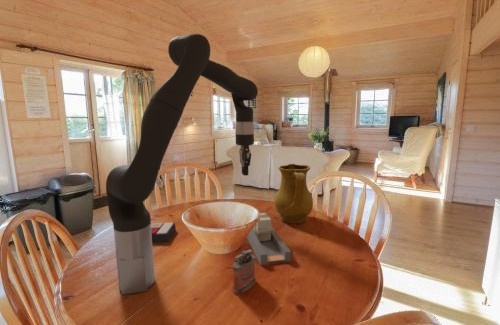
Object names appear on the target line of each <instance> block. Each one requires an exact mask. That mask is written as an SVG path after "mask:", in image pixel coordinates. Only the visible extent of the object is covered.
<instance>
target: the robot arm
mask: <svg viewBox="0 0 500 325" xmlns="http://www.w3.org/2000/svg"><path fill="white" fill-rule="evenodd" d="M167 51H168V55H169V58H170V60H171V61H172V62H173V64H174V65H176V66H177V68H176V70H175V71H174V72H173V73H172V75H170V77H169V78H168V79H166V81H165V82H164V83H163V84H161V86H159V88H158V89H156V90H155V92H154V93H153V95H152V96H150V99H149V102H148V104H147V105H146V108H145V110H144V112H143V115H142V118H141V125H140V141H139V144H138V148H137V151H136V153H135V155H134V157H133V159H132V160H131V162H130V164H129V165H127V164H124V165H123V164H122V165H118V166H116V167H114V168H112V170H110V171H109V173H108V175H107V177H106V182H105V193H106V200H107V207H108V213H109V218H110V219H111V221H112V226H113V235H114V246H115V256H116V267H117V278H118V288H119V291H120V292H121V295H129V294H136V293H145V292H147V291H148V289H149V288H150V287H151V286H153V284H154V283H155V278H156V277H155V266H154V264H155V263H154V252H153V250H154V248H153V242H152V233H151V224H152V220H151V214H150V212H149V210H148V209H147V208H146V206H145V204H144V202H145V201H146V200H147V199H148V198H149V197H150V196H151V194H152V192H153V190H154V188H155V185H156V181H157V178H158V175H159V172H160V168H161V166H162V162H163V160H164V156H165V154H166V152H167V151H168V150H167V149H168V147H169V145H170V143H171V140H172V138H173V135H174V132H175V131H176V129H177V127H178V124H179V123H180V120H181V118H182V116H183V113H184V110H185V107H186V105H187V103H188V101H189V99H190V97H191V96H192V92H193V90H194V88H195V86H196V85H197V82H198V81H199V79H200V77H203V78H205V79H206V80H209V81H210V82H212V83H214V84H216V85H217V86H219V87H220V88H221V89H223V90H225V91H227V92H228V93H230V94H231V98H232V99H231V100H232V101H233V102H232V103H233V106H234V110H235V131H234V132H235V145H236V146H240V148H239V151H238V153H239V163H240V165H241V174H242V175H243V176H249V167H250V165H251V159H252V153H251V149H250V146H253V145H254V144H255V127H254V126H255V125H254V109H253V107H251V106H247V105H246V104H245V101H246V102H247V101H254V100H255V99H256V98H257V97H258V94H259V90H258V87H257V84H256V83H255V82H253V81H252V80H250V79H249V78H246V77H243V76H240V75H239V74H237V73H236V72H235V71H234V70H232V69H230V68H229V67H227V66H226V65H224V64H221V63H220V62H219V63H218V62H216V61H213V60H211V59H210V56H211V45H210V43H209V40H208V38H207V37H206V36H205V35H203V34H200V33H190V34H183V35H178V36H175V37H174V38H172V39H171V40H170V42H169V43H168V50H167Z"/></svg>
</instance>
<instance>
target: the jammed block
mask: <svg viewBox="0 0 500 325" xmlns="http://www.w3.org/2000/svg"><path fill="white" fill-rule="evenodd" d="M260 215H261V217H260V220H259V221H258V222H257V223H256V225H255V226H254V227H253V231H254V233H255V234H256V236H257V238H258V240H259V241H268V240H271V226H272V218H271V217H270V216H269V215H268V213H267V212H262V213H261V212H260Z"/></svg>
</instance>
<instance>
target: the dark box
mask: <svg viewBox="0 0 500 325" xmlns="http://www.w3.org/2000/svg"><path fill="white" fill-rule="evenodd" d="M176 231H177V228H176V223H175V222H151V233H152V243H156V244H159V243H166V244H167V243H170V241H171V239H172V237H174V235H175V233H176Z"/></svg>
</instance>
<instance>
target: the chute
mask: <svg viewBox="0 0 500 325" xmlns="http://www.w3.org/2000/svg"><path fill="white" fill-rule="evenodd" d="M246 238H247V241H248V243H249V244H250V246H251V248H252V249H251V250H252V252H253V253H254V256H255V257H256V258H257V259H256V260H258V263H259V265H260V266H268V265H274V264H282V263H291V261H292V251H291V248H289V247H288V246H287V244H286V243H285V242H284V240H283V239H282V237H281V236H280V235H279V234H278V232H277V231H276V230H275V229H274V227H273V226H272V225H271V240H268V241H259V240H258V238H257V236H256V234H255V233H254V231H253V229H251V231H250V232H249V234H248V236H246Z"/></svg>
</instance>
